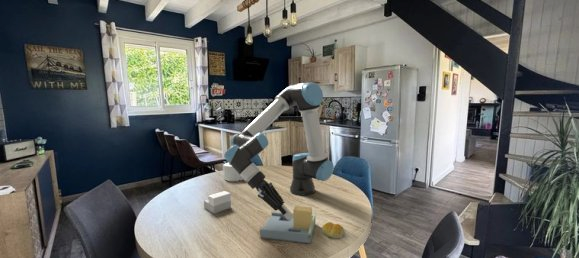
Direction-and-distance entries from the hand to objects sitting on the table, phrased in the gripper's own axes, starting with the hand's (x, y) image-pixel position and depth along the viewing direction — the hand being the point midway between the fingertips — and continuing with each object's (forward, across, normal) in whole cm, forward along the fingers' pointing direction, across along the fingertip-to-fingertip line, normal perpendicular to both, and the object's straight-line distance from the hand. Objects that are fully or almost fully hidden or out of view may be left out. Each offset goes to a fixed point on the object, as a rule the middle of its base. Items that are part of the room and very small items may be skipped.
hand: (291, 218), depth 101 cm
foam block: (-27, -13, -37) cm, 48 cm away
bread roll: (+16, -2, +8) cm, 18 cm away
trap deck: (+3, 0, -5) cm, 6 cm away
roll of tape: (-35, -64, -44) cm, 85 cm away
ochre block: (+6, 0, +1) cm, 6 cm away
